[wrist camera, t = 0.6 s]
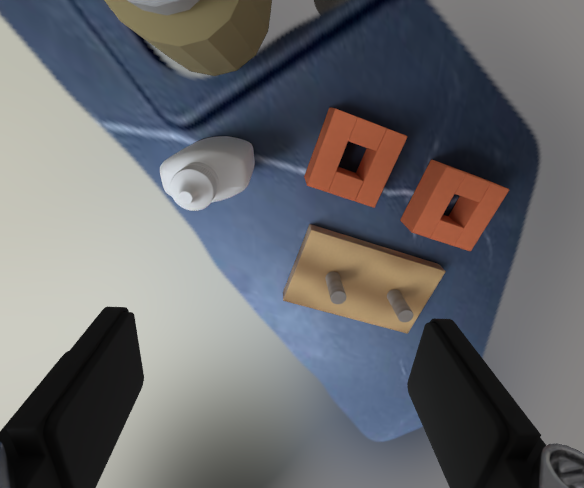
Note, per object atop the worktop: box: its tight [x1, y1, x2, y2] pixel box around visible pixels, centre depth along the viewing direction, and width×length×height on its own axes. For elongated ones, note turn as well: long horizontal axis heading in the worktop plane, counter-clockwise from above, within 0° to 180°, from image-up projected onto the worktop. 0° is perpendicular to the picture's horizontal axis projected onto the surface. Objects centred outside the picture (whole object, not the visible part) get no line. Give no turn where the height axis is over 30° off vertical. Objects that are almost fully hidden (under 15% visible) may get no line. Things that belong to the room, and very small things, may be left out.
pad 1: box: [304, 107, 407, 207], centre depth 27 cm, size 6×6×3 cm
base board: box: [283, 224, 445, 333], centre depth 31 cm, size 8×14×5 cm, turn 71°
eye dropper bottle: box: [160, 136, 255, 211], centre depth 22 cm, size 4×6×12 cm
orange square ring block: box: [400, 160, 509, 251], centre depth 29 cm, size 6×6×3 cm
